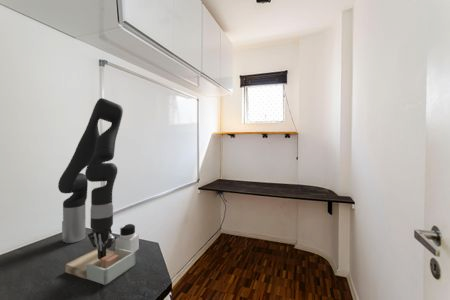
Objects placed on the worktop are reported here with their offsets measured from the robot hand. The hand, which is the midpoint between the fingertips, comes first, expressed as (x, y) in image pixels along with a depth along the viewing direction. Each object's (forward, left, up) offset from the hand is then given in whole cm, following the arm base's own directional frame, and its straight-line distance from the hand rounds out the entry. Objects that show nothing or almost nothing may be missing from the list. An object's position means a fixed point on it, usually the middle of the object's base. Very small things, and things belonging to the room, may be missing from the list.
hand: (101, 258), depth 82 cm
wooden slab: (-5, 0, -4) cm, 6 cm away
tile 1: (+2, 0, -1) cm, 2 cm away
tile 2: (+4, 0, -1) cm, 4 cm away
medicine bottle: (-1, +13, -4) cm, 14 cm away
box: (+5, 0, -4) cm, 6 cm away
